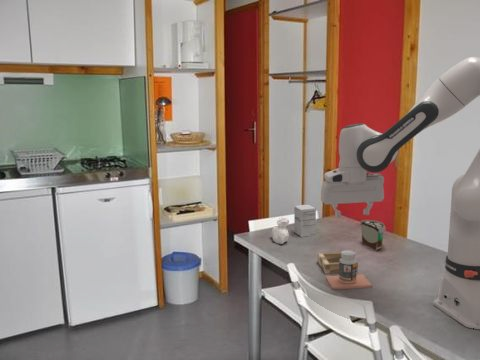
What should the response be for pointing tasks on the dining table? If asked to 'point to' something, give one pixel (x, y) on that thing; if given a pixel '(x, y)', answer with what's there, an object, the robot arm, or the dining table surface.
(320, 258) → the block
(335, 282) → the mat
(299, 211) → the supplement box
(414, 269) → the dining table surface
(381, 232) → the food container
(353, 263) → the pill bottle
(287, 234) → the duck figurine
